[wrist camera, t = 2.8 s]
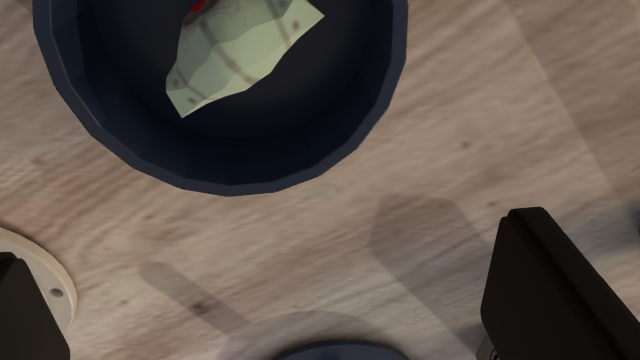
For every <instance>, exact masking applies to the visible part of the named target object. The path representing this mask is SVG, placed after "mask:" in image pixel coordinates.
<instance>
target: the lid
mask: <svg viewBox="0 0 640 360" xmlns="http://www.w3.org/2000/svg"><path fill="white" fill-rule="evenodd" d="M273 360H410V359H409V358H408V357H407V356H405V355H404V354H402V353H401V352H399V351H397V350H395V349H393V348H390V347H388V346H385V345H382V344H378V343H373V342H368V341H359V340H334V341H326V342H319V343H314V344H310V345H306V346H303V347H300V348H297V349H294V350H291V351H289V352H287V353H285V354H282V355H280V356H279V357H277V358H275V359H273Z"/></svg>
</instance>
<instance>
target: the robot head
mask: <svg viewBox="0 0 640 360" xmlns="http://www.w3.org/2000/svg"><path fill="white" fill-rule="evenodd" d="M323 17H324V15H323V14H322V13H321V12H319V11H318V10H317V9H316V8H315V7H314V6H313V5H311V4H310V3H309V2H308V1H307V0H202V1H200V2H198V3H197V4H196V5H195V7H194V8H193V9H192V10H191V11H190V12H189V13H188V14H187V15H186V17H185V18H184V20H183V23H182V28H181V33H180V39H179V44H178V52H177V61H176V62H175V64H174V66H173V68H172V69H171V71H170V73H169V74H168V76H167V78H166V93H167V94H168V96H169V98H170V99H171V101H172V103H173V104H174V106H175V108H176V109H177V111H178V113H179V114H180V116H181V118H183V117H185V116H186V115H188V114H190V113H191V112H193V111H195V110H197V109H198V108H200V107H202V106H204V105H205V104H207V103H210V102H212V101H215V100H217V99H220V98H222V97H225V96H228V95H231V94H235V93H238V92H241V91H245V90H247V89H248V88H249V87H251V86H252V85H253V84H255V83H256V82H257V81H259V80H260V79H262V78H263V77H265V76H266V75H268V74H269V73H271V71H272V70H273V68H274V67H275V66H276V64H277V63H278V61H279V60H280V59H281V57H282V56H283V55H284V53H285V52H286V51H287V50H288V49H289V48H290V47H291V46H292V45H293V44H294V43H295V41H296V40H297V39H298V38H299V37H301V36H302V35H303V34H304V33H305V32H306V31H308V30H309V29H310V28H311V27H312V26H313V25H315V24H316V23H317V22H318V21H319V20H321V19H322V18H323Z"/></svg>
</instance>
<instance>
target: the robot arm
mask: <svg viewBox="0 0 640 360" xmlns="http://www.w3.org/2000/svg"><path fill="white" fill-rule="evenodd" d="M77 304H78V303H77V293H76V289H75V287H74V284H73V282H72V279H71V278H70V276H69V275H68V273H67V272H66V270H65V269H64V267H63V266H62V265H61V264H60V263H59V262H58V261H57V260H56V259H55V258H54V257H53V256H52V255H51V254H49V253H48V252H47V251H45V250H44V249H43V248H41V247H40V246H38V245H37V244H36V243H34V242H32V241H30V240H28V239H26V238H25V237H23V236H21V235H19V234H17V233H14V232H11V231H9V230H6V229H4V228H1V227H0V360H70V349H69V346H68V344H67V342H66V340H65V338H64V335H65V334H66V332H67V331H68V330H69V328H70V326H71V323H72V321H73V319H74V317H75V314H76V309H77ZM480 312H481V319H482V323H483V325H484V328H485V330H486V332H487V334H488V336H489V338H490V340H491V342H492V344H493V346H494V348H495V350H496V353H497V355H498V357H499V359H500V360H640V322H639V321H638V320H637V319H636V318H635V316H634V315H633V314H632V313H631V312H630V310H629V309H628V308H627V307H626V306H625V304H624V303H623V302H622V301H621V300H620V298H619V297H618V296H617V295H616V294H615V292H614V291H613V290H612V289H611V288H610V286H609V285H608V284H607V283H606V282H605V280H604V279H603V278H602V277H601V276H600V275H599V274H598V272H597V271H596V270H595V269H594V268H593V266H592V265H591V264H590V263H589V262H588V260H587V259H586V258H585V257H584V256H583V254H582V253H581V252H580V251H579V250H578V248H577V247H576V246H575V245H574V244H573V242H572V241H571V240H570V239H569V237H568V236H567V235H566V234H565V233H564V231H563V230H562V229H561V228H560V227H559V225H558V224H557V223H556V222H555V221H554V219H553V218H552V217H551V216H550V215H549V213H548V212H547V211H546V210H545V209H544V208H542V207H529V208H517V209H512V210H510V211H509V213H508V216H507V217H502V218H501V220H500V223H499V227H498V232H497V236H496V241H495V245H494V249H493V254H492V258H491V263H490V267H489V272H488V276H487V281H486V285H485V290H484V294H483V299H482V303H481V309H480Z"/></svg>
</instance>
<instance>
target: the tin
mask: <svg viewBox="0 0 640 360" xmlns="http://www.w3.org/2000/svg"><path fill="white" fill-rule="evenodd" d="M200 1H202V0H32V5H33V29H34V30H35V31H34V33H35V36H36V39H37V41H38V44H39V47H40V49H41V52H42V55H43V57H44V60H45V63H46V65H47V68H48V71H49V73H50V76H51V79H52V81H53V84H54V86H55V87H56V90H57V91H58V93H59V94H60V95H61V97H62V98H63V99H64V101H65V102H66V103H67V105H68V106H69V107H70V109H71V110H72V111H73V113H74V114H75V115H76V117H77V118H78V119H79V121H80V122H81V123H82V125H83V126H84V127H85V129H86V130H87V131H88V133H90V135H91V136H92V137H94V138H95V139H96V140H97V141H99V142H100V143H101V144H103V145H104V146H105V147H106V148H108V149H109V150H110V151H111V152H113V153H114V154H115V155H117V156H118V157H119V158H120V159H122V160H123V161H124V162H125V163H127V164H128V165H129V166H131V167H133V168H134V169H136V170H138V171H141V172H143V173H145V174H148V175H150V176H152V177H154V178H157V179H159V180H161V181H164V182H166V183H168V184H170V185H173V186H175V187H177V188H180V189H184V190H190V191H196V192H202V193H208V194H214V195H220V196H226V197H228V196H229V197H231V196H242V195H253V194H264V193H275V192H278V191H281V190H283V189H286V188H289V187H292V186H294V185H297V184H300V183H302V182H305V181H308V180H310V179H313V178H316V177H318V176H319V175H322V174H323V173H325V172H326V171H327V170H329V169H330V168H331V167H333V166H334V165H336V164H337V163H338V162H340V161H341V160H342V159H344V158H345V157H347V156H348V155H349V154H351V153H352V152H353V151H355V150H356V149H357V148H358V147H359V146H360V145H361V144H362V142H363V141H364V140H365V138H366V137H367V136H368V134H369V133H370V132H371V131H372V129H373V128H374V127H375V125H376V124H377V123H378V121H379V120H380V119H381V118H382V116H383V115H384V114H385V112H386V111H387V109H388V107H389V105H390V102H391V99H392V97H393V94H394V91H395V89H396V86H397V83H398V81H399V78H400V75H401V73H402V70H403V67H404V65H405V61H406V55H407V37H408V19H409V1H408V0H307V1H308V2H309V3H310V4H311V5H313V6H314V7H315V8H316V9H317V10H318V11H319V12H321V13H322V14H323V15H324V17H323V18H322V19H321V20H319V21H318V22H317V23H316V24H315V25H313V26H312V27H311V28H310V29H309V30H308V31H306V32H305V33H304V34H303V35H302V36H301V37H299V38H298V39H297V40H296V41H295V43H294V44H293V45H292V46H291V47H290V48H289V49H288V50H287V51H286V52H285V53H284V55H283V56H282V57H281V59H280V60H279V61H278V63H277V64H276V66H275V67H274V68H273V70H272V71H271V73H269V74H268V75H266V76H265V77H263V78H262V79H260V80H259V81H257V82H256V83H255V84H253V85H252V86H251V87H249V88H248V89H247V90H245V91H241V92H238V93H235V94H231V95H228V96H225V97H222V98H220V99H217V100H215V101H212V102H210V103H207V104H205V105H204V106H202V107H200V108H198V109H197V110H195V111H193V112H191V113H190V114H188V115H186V116H185V117H183V118H181V116H180V114H179V113H178V111H177V109H176V108H175V106H174V104H173V103H172V101H171V99H170V98H169V96H168V94H167V93H166V78H167V76H168V74H169V73H170V71H171V69H172V68H173V66H174V64H175V62H176V61H177V52H178V44H179V39H180V33H181V28H182V23H183V20H184V18H185V17H186V15H187V14H188V13H189V12H190V11H191V10H192V9H193V8H194V7H195V5H196V4H197V3H198V2H200Z"/></svg>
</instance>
